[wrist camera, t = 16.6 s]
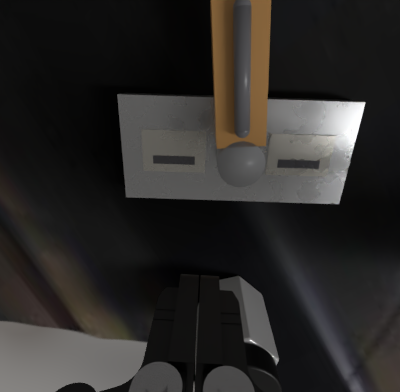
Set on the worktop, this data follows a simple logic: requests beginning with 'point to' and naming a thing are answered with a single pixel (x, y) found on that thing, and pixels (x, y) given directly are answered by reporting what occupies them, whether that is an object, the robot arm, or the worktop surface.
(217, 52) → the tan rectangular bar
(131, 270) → the worktop surface
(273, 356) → the jar
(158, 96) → the plate
